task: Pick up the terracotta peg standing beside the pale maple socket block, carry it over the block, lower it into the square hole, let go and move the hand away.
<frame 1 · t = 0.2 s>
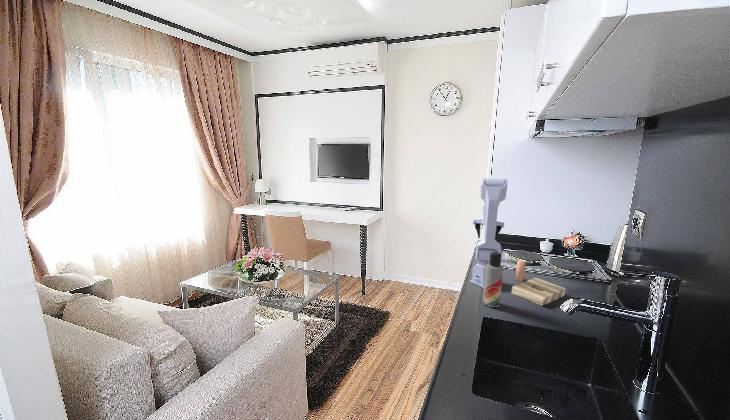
hand: (487, 238, 159), 11 cm above the counter, tool pointing down, fingers open, 7 cm apart
socket block: (537, 294, 122), on the counter
lotion bottle: (491, 304, 115), on the counter
peg: (519, 279, 136), on the counter
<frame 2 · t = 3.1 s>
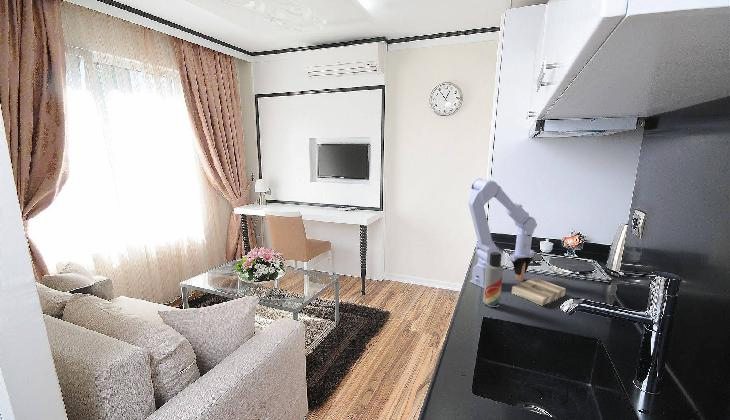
hand: (520, 273, 135), 3 cm above the counter, tool pointing down, fingers closed on peg, 3 cm apart
peg: (519, 279, 136), on the counter, touching gripper
everything else where it was.
when the fingers open (4 cm above the counter, at t = 7.5 s): peg stays where it is, resting in socket block.
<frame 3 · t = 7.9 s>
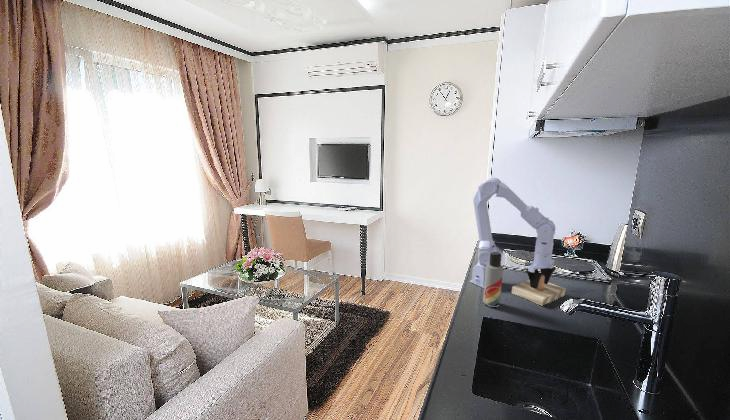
hand: (539, 285, 121), 4 cm above the counter, tool pointing down, fingers open, 7 cm apart
peg: (537, 294, 122), resting in socket block
everything else where it was.
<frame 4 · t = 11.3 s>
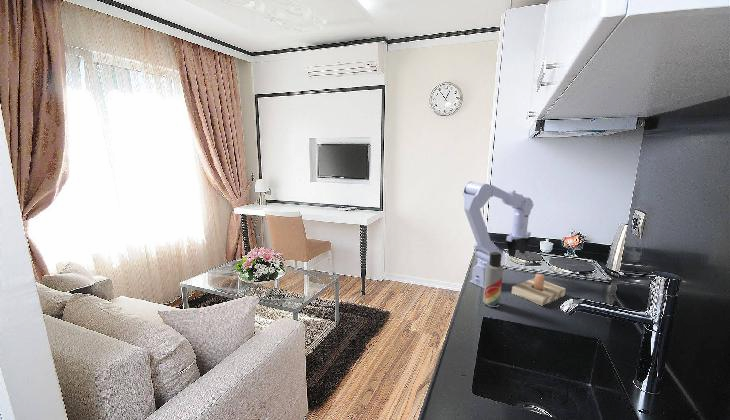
hand: (516, 254, 137), 10 cm above the counter, tool pointing down, fingers open, 7 cm apart
nothing on the counter moved.
at the end: peg 0.1 cm off-centre on the socket block, point 0.0 cm above the socket block's base; peg tilted 0°; the gripper is holding nothing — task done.
